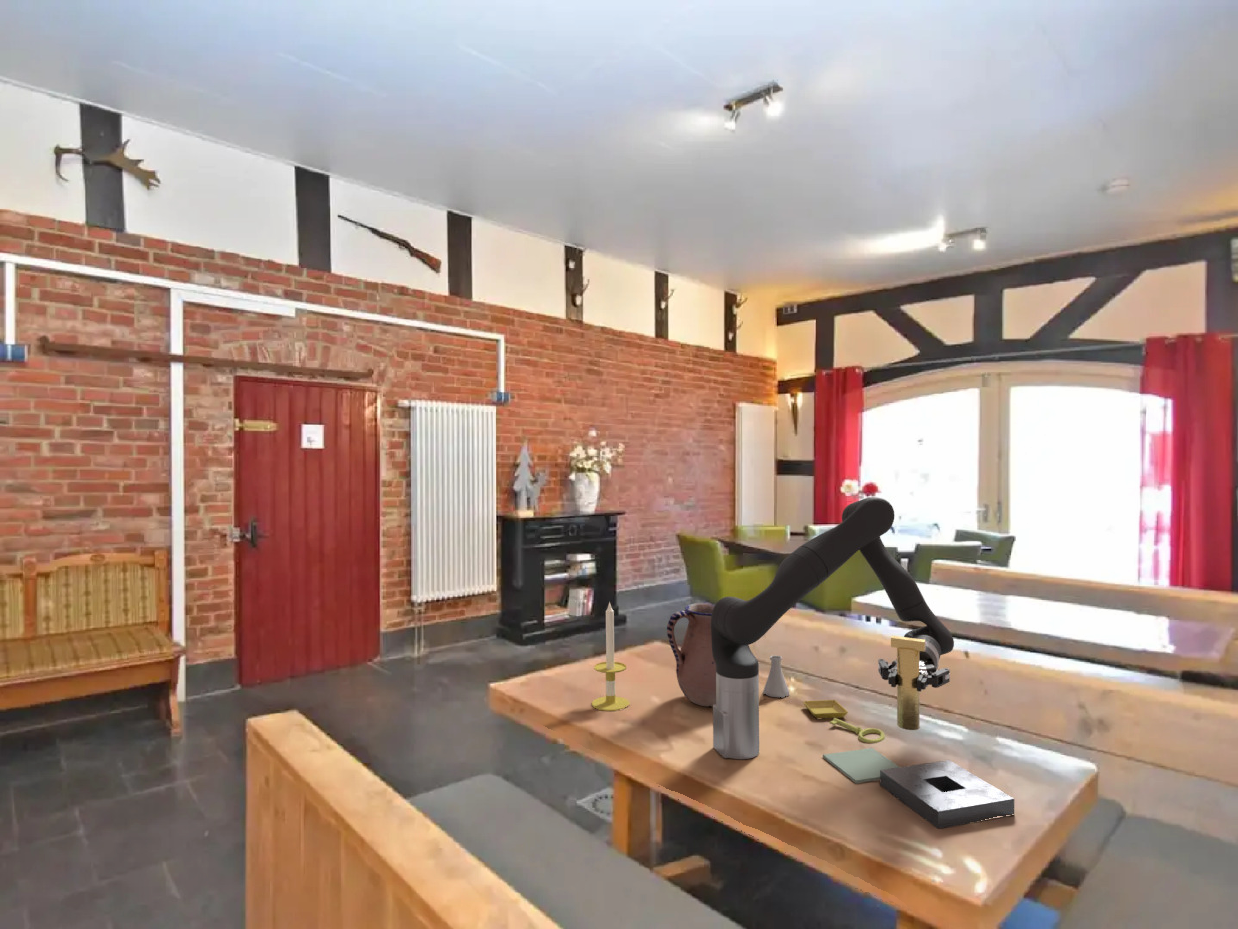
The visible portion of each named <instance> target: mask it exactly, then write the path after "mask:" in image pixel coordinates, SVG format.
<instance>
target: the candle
mask: <svg viewBox="0 0 1238 929" xmlns="http://www.w3.org/2000/svg"><path fill="white" fill-rule="evenodd" d="M614 614H615V610H613V608H612V605H611V602H610V601H609V603H608V605H607V609H606V610H605V651H606V652H605V654H606V655H605V661H604V662H603V661H602V662H599V663H597V664H595V665H594V666H593V669H594V670H595V671H597V672H599V673H602V674H603V673H605V696H602V697H601V696H600V697H598V698H595V699H594V700H593V701H591V707H593V709H595V708H596V709H595V710H598V709H599V710H598V711H602V710H603V711H602V712H616V710H618V711H621V710H620V709H623V708H625V707H627V705H629V704H631V703H630V701H629V700H628V699H627V698H624V697H621V696H617V695H616V673H617V674H618V673H620V672H621V673H622V672H624V671H625V670H627V665H626V664H625V663H623V662H619V661H615V616H614ZM629 706H630V705H629ZM627 708H628V707H627ZM625 709H626V708H625ZM623 710H624V709H623Z"/></svg>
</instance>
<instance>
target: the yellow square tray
mask: <svg viewBox="0 0 1238 929" xmlns="http://www.w3.org/2000/svg"><path fill="white" fill-rule="evenodd" d="M802 704H803V705H804V707H805V708H806V709H807V710H808V711H809V712H810V713H811V715H813V717H815V718H816V719H817V718H825V719H834V718H836V719H839V718H840V719H843V718H844V717H845V716H846V715H847V714H848V713H849V712H848V710H847V709H846V708H844V706H842V705H841V704H840V703H839V702H838V700H835V699H823V700H821V699H820V700H804V701H802Z"/></svg>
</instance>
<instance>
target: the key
mask: <svg viewBox="0 0 1238 929" xmlns="http://www.w3.org/2000/svg"><path fill="white" fill-rule="evenodd" d="M829 724H830V725H832V726H836V725H838V726H840V727H843V728H844V729H847V730H849V731H852V732H853V733H855V734H856V735H858V736H857V738H858V740H859V741H861V742H863V743H867V744H875V743H876V744H877V743H880V742H882V741H884V740H885V738H886V736H885V733H884V731H883V730H881V729H879V728H873V727H868V728H864V729H862V727H861V726H855V725H853V724H851V723H848V722H846V721H843V720H841V719H839V718H832V720H831V721H829ZM869 734H878V735H879V737H877V738H875V739H874V738H872V739H871V738H866V737H865V736H866V735H869Z"/></svg>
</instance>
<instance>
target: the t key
mask: <svg viewBox="0 0 1238 929" xmlns="http://www.w3.org/2000/svg"><path fill="white" fill-rule="evenodd" d="M890 648H893V649H894V648H895V649H896V659H897V685H896V687H897V688H896V725H897V727H899V728H900V729H903V730H908V731H917V730H919V729H920V728H921V727H920V724H921V723H920V691H917V679H918V677H919V651H925V649H926V640H923V639H915V638H907V637H904V636H896V635H892V636H891V637H890Z"/></svg>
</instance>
